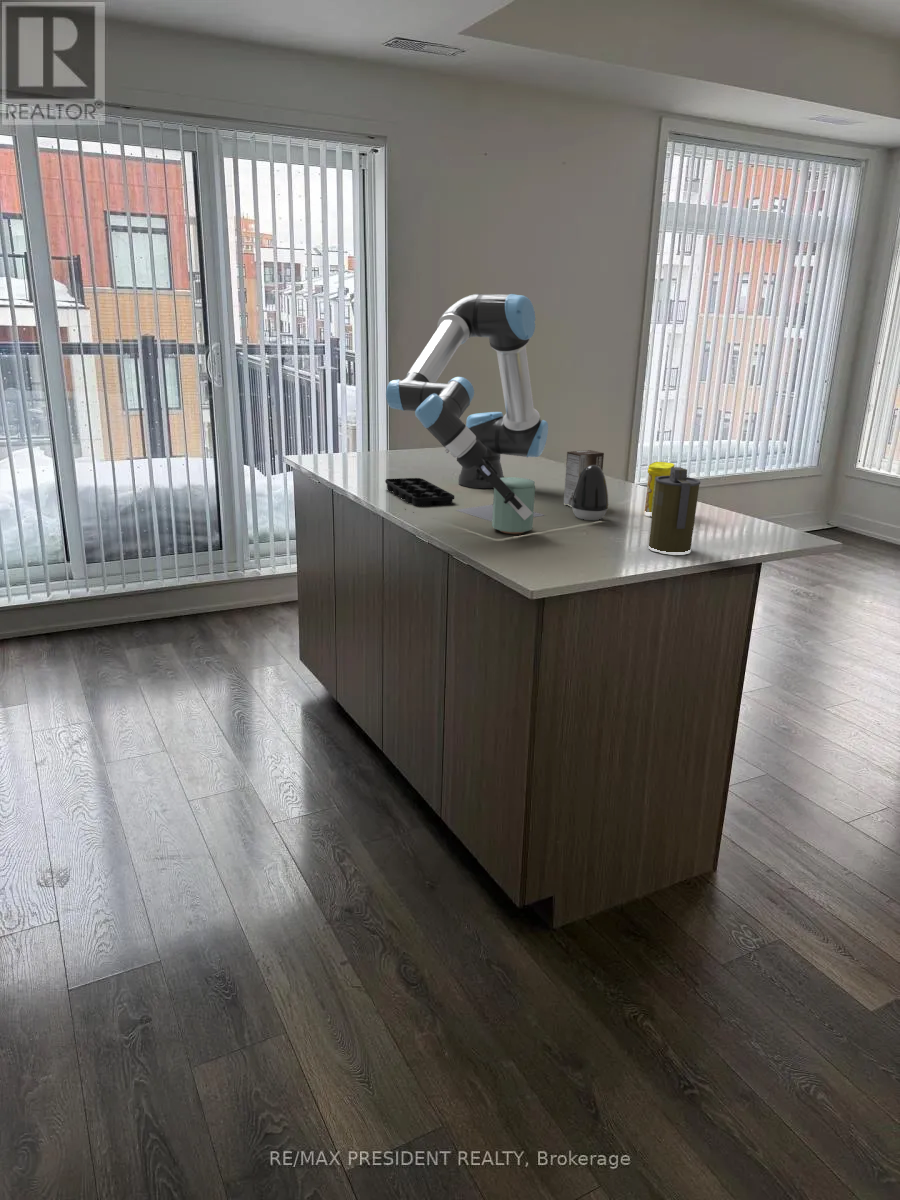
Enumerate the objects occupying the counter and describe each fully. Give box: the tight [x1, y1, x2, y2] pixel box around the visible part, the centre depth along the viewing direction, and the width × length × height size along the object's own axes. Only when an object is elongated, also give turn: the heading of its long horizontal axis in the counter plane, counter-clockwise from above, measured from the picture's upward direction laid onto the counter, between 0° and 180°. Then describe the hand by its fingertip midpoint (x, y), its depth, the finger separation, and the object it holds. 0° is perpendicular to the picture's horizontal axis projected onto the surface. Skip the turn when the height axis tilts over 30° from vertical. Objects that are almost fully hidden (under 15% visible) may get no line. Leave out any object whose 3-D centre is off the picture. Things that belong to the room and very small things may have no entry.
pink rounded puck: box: [500, 531, 525, 535], centre depth 215 cm, size 6×6×4 cm
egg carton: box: [384, 477, 455, 507], centre depth 252 cm, size 18×30×4 cm, turn 35°
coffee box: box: [563, 449, 605, 505], centre depth 246 cm, size 9×6×16 cm
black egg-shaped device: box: [571, 465, 610, 521], centre depth 230 cm, size 10×10×15 cm
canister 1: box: [644, 461, 676, 512], centre depth 239 cm, size 6×11×14 cm, turn 154°
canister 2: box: [648, 466, 701, 552], centre depth 201 cm, size 11×10×20 cm
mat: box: [455, 503, 545, 522], centre depth 234 cm, size 18×18×1 cm
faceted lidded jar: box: [491, 476, 536, 533], centre depth 213 cm, size 10×10×12 cm
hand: (524, 511), depth 214 cm, fingers closed on faceted lidded jar, 10 cm apart
